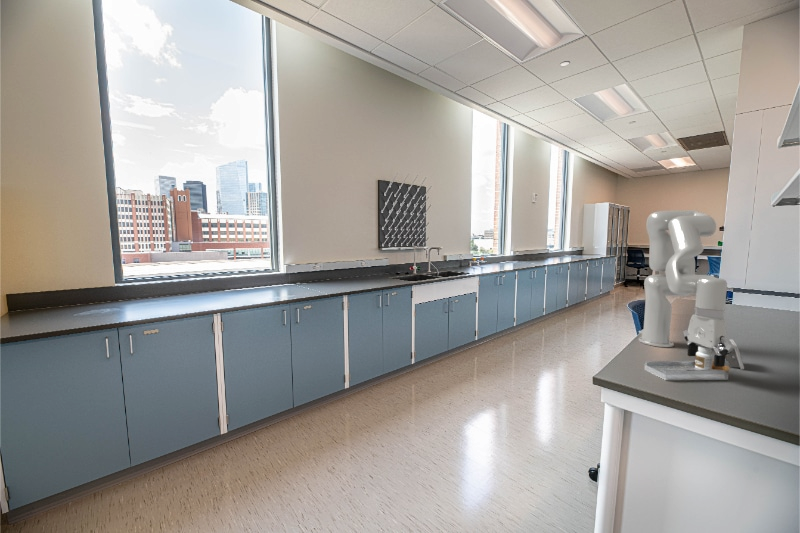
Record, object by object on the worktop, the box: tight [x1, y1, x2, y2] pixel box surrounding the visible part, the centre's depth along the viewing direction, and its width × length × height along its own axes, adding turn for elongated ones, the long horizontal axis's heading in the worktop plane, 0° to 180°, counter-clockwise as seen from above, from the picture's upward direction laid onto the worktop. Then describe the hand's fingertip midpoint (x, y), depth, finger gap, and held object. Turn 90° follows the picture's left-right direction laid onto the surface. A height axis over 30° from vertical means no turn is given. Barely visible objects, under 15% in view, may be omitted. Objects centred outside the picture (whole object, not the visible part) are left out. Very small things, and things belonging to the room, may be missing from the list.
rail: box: [644, 360, 730, 381], centre depth 114 cm, size 9×22×4 cm, turn 92°
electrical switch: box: [724, 338, 745, 370], centre depth 123 cm, size 9×5×9 cm, turn 141°
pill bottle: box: [694, 345, 714, 370], centre depth 115 cm, size 4×4×8 cm
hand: (705, 360), depth 114 cm, fingers open, 9 cm apart
